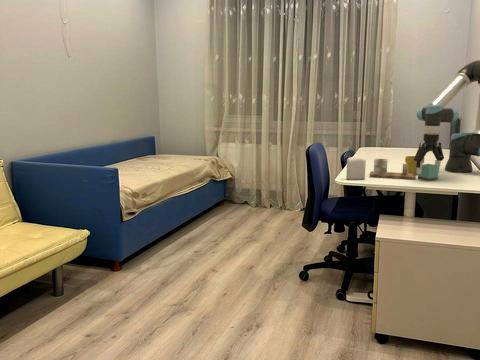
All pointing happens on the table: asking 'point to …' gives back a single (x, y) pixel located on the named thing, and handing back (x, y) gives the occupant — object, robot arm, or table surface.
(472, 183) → the table surface
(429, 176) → the teal sleeve
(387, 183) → the table surface
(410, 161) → the plant pot
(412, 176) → the peg board
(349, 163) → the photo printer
